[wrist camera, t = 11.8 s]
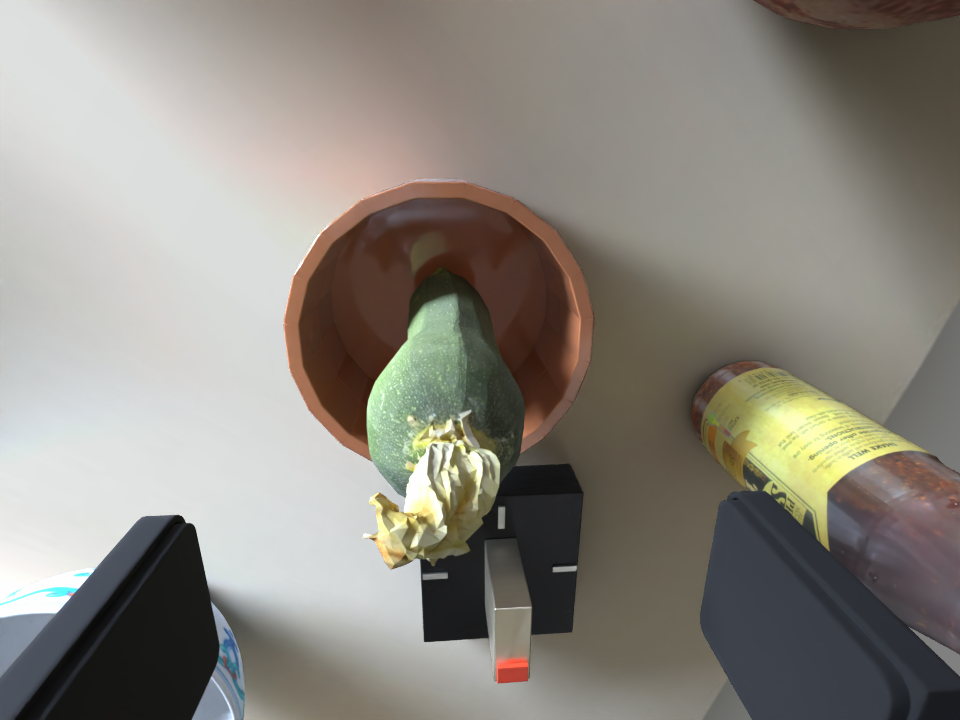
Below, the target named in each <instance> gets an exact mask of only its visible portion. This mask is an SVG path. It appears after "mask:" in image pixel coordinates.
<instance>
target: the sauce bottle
mask: <svg viewBox="0 0 960 720" xmlns="http://www.w3.org/2000/svg"><path fill="white" fill-rule="evenodd" d="M691 418H692V423H693V426H694V429H695V432H696V434H697V436H698V439H699V440H700V441H702V443H703V444H704V446H705V448H706V450H707V451H708V453H709V454H710V455H711V456H712V457H713V458H714V459H715V460H716V461H717V462H718V463H719V464H720V465H721V466H722V467H723V468H724V469H725V470H726V471H727V472H728V473H729V474H730V475H731V476H732V477H733V478H734V480H735V481H736V482H737V483H738V484H739V485H740V486H741V487H742V488H743V489H744V490H745V491H766V492H767V493H769V494H770V495H771V496H772V497H773V498H774V499H775V500H776V501H777V502H778V503H780V504H781V505H782V506H783V507H784V508H785V509H786V510H787V511H788V512H789V513H790V514H791V515H792V516H793V517H794V518H795V519H796V520H797V521H798V522H799V523H800V524H801V525H802V526H803V527H805V528H806V529H807V530H808V531H809V532H810V533H811V534H812V535H813V536H814V537H815V538H816V539H817V540H818V541H819V542H820V543H821V544H822V545H823V546H824V547H825V548H826V549H827V550H828V551H829V552H831V553H832V554H833V555H834V556H835V557H836V558H837V559H838V560H839V561H840V562H841V563H842V564H843V565H844V566H845V567H846V568H847V569H848V570H849V571H850V572H851V573H852V574H853V575H854V576H856V577H857V578H858V579H859V580H860V581H861V582H862V583H863V584H864V585H865V586H866V587H867V588H868V589H869V590H870V591H871V592H872V593H873V594H874V595H875V596H876V597H877V598H878V599H879V600H881V601H882V602H883V603H884V604H885V605H886V606H887V607H888V608H889V609H890V610H891V611H892V612H893V613H894V614H895V615H896V616H897V617H898V618H899V619H900V620H901V621H902V622H903V623H904V624H906V625H907V626H908V627H910V628H912V629H914V630H916V631H918V632H920V633H921V634H923V635H925V636H927V637H929V638H931V639H933V640H935V641H937V642H938V643H940V644H942V645H944V646H946V647H948V648H950V649H951V650H953V651H955V652H957V653H958V654H960V474H959V473H958V472H956V471H955V470H952V469H950V468H948V467H946V466H945V465H943V463H942V462H940V461H939V459H938V458H937V457H936V456H934V455H932V454H931V453H929V452H927V451H925V450H924V449H922V448H920V447H918V446H917V445H915V444H913V443H911V442H910V441H908V440H906V439H905V438H903V437H901V436H899V435H898V434H896V433H894V432H892V431H891V430H889V429H887V428H886V427H884V426H882V425H880V424H879V423H877V422H875V421H873V420H872V419H870V418H868V417H866V416H865V415H863V414H861V413H859V412H858V411H856V410H854V409H852V408H851V407H849V406H847V405H846V404H844V403H842V402H840V401H839V400H837V399H835V398H833V397H832V396H830V395H828V394H826V393H825V392H823V391H821V390H820V389H818V388H816V387H814V386H813V385H811V384H809V383H807V382H805V381H803V380H802V379H800V378H798V377H796V376H795V375H793V374H791V373H789V372H787V371H784V370H782V369H779V368H777V367H775V366H773V365H770V364H767V363H764V362H759V361H740V362H735V363H732V364H730V365H727V366H724V367H722V368H721V369H719V370H718V371H717V372H715V373H714V374H712V375H711V376H710V377H709V378H708V380H707V381H705V382H704V383H703V385H702V386H701V388H700V389H699V390H698V392H697V393H696V395H695V397H694V401H693V404H692V410H691Z"/></svg>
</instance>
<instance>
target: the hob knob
mask: <svg viewBox="0 0 960 720" xmlns="http://www.w3.org/2000/svg"><path fill="white" fill-rule="evenodd" d="M485 609H486V618H487V626H488V635H489V643H490V652H491V660H492V669H493V677H494V681H497V683H510V682H522V681H528V679H529V678H530V656H531V628H532V604H531V599H530V595H529V591H528V586H527V582H526V577H525V573H524V568H523V564H522V559H521V555H520V550H519V546H518V542H517V539H516V538H507V539H490V540H485Z"/></svg>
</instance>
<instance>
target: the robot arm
mask: <svg viewBox="0 0 960 720" xmlns="http://www.w3.org/2000/svg"><path fill="white" fill-rule="evenodd" d="M700 624H701V629H702V632H703V634H704V637H705V639H706V640H707V642H708V644H709V645H710V647H711V649H712V651H713V652H714V654H715V656H716V658H717V659H718V661H719V663H720V665H721V666H722V668H723V670H724V672H725V673H726V675H727V677H728V678H729V680H730V682H731V684H732V685H733V687H734V689H735V691H736V692H737V694H738V696H739V698H740V699H741V701H742V703H743V704H744V706H745V708H746V710H747V711H748V713H749V715H750V717H751V718H752V720H960V676H959V675H958V674H956V673H955V672H954V671H953V670H952V669H951V668H950V667H949V666H948V665H947V664H946V663H945V662H944V661H943V660H942V659H941V658H940V657H939V656H938V655H937V654H936V653H935V652H934V651H932V650H931V649H930V648H929V647H928V646H927V645H926V644H925V643H924V642H923V641H922V640H921V639H920V638H919V637H918V636H917V635H916V634H915V633H914V632H913V631H912V630H910V628H909V627H908V626H907V625H906V624H904V623H903V622H902V621H901V620H900V619H899V618H898V617H897V616H896V615H895V614H894V613H893V612H892V611H891V610H890V609H889V608H888V607H887V606H886V605H885V604H884V603H883V602H882V601H881V600H879V599H878V598H877V597H876V596H875V595H874V594H873V593H872V592H871V591H870V590H869V589H868V588H867V587H866V586H865V585H864V584H863V583H862V582H861V581H860V580H859V579H858V578H857V577H856V576H854V575H853V574H852V573H851V572H850V571H849V570H848V569H847V568H846V567H845V566H844V565H843V564H842V563H841V562H840V561H839V560H838V559H837V558H836V557H835V556H834V555H833V554H832V553H831V552H829V551H828V550H827V549H826V548H825V547H824V546H823V545H822V544H821V543H820V542H819V541H818V540H817V539H816V538H815V537H814V536H813V535H812V534H811V533H810V532H809V531H808V530H807V529H806V528H805V527H803V526H802V525H801V524H800V523H799V522H798V521H797V520H796V519H795V518H794V517H793V516H792V515H791V514H790V513H789V512H788V511H787V510H786V509H785V508H784V507H783V506H782V505H781V504H780V503H778V502H777V501H776V500H775V499H774V498H773V497H772V496H771V495H770V494H769V493H767V492H766V491H742V492H732V493H730V494H729V496H728V498H727V500H724V501H722V502H721V503H720V505H719V508H718V514H717V519H716V525H715V531H714V537H713V542H712V548H711V554H710V559H709V565H708V571H707V577H706V582H705V588H704V594H703V599H702V605H701V611H700ZM219 651H220V644H219V638H218V633H217V628H216V624H215V619H214V614H213V609H212V604H211V600H210V595H209V590H208V585H207V581H206V576H205V571H204V566H203V562H202V557H201V552H200V547H199V543H198V538H197V533H196V529H195V527H194V525H193V524H191V523H186V522H185V520H184V518H183V517H182V516H180V515H166V516H146V517H142V518H141V519H139V520H138V521H137V522H136V523H135V524H134V526H133V527H132V528H131V529H130V530H129V531H128V532H127V534H126V535H125V536H124V537H123V538H122V539H121V540H120V542H119V543H118V544H117V545H116V546H115V547H114V548H113V550H112V551H111V552H110V553H109V554H108V555H107V556H106V557H105V559H104V560H103V561H102V562H101V563H100V564H99V565H98V567H97V568H96V569H95V570H94V571H93V572H92V573H91V575H90V576H89V577H88V578H87V579H86V580H85V581H84V583H83V584H82V585H81V586H80V587H79V588H78V589H77V591H76V592H75V593H74V594H73V595H72V596H71V597H70V599H69V600H68V601H67V602H66V603H65V604H64V605H63V606H62V608H61V609H60V610H59V611H58V612H57V613H56V614H55V616H54V617H53V618H52V619H51V620H50V621H49V622H48V624H47V625H46V626H45V627H44V628H43V629H42V630H41V632H40V633H39V634H38V635H37V636H36V637H35V638H34V640H33V641H32V642H31V643H30V644H29V645H28V646H27V648H26V649H25V650H24V651H23V652H22V653H21V654H20V655H19V657H18V658H17V659H16V660H15V661H14V662H13V663H12V665H11V666H10V667H9V668H8V669H7V670H6V671H5V673H4V674H3V675H2V676H1V677H0V720H192V718H193V716H194V714H195V711H196V709H197V707H198V705H199V703H200V700H201V698H202V696H203V694H204V692H205V690H206V687H207V685H208V683H209V681H210V679H211V676H212V674H213V672H214V670H215V667H216V665H217V662H218V658H219Z"/></svg>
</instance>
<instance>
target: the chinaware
mask: <svg viewBox="0 0 960 720" xmlns="http://www.w3.org/2000/svg"><path fill="white" fill-rule="evenodd" d="M95 569H96V568H89V569H83V570H78V571H73V572H69V573H65V574H61V575H57V576H54V577H51V578H48V579H45V580H42V581H40V582H37V583H34V584H32V585H29V586H27V587H25V588H22V589H20V590H18V591H16V592H14V593H12V594H10V595H8V596H6V597H4V598H2V599H0V677H1V676H2V675H3V674H4V673H5V671H6V670H7V669H8V668H9V667H10V666H11V665H12V663H13V662H14V661H15V660H16V659H17V658H18V657H19V655H20V654H21V653H22V652H23V651H24V650H25V649H26V648H27V646H28V645H29V644H30V643H31V642H32V641H33V640H34V638H35V637H36V636H37V635H38V634H39V633H40V632H41V630H42V629H43V628H44V627H45V626H46V625H47V624H48V622H49V621H50V620H51V619H52V618H53V617H54V616H55V614H56V613H57V612H58V611H59V610H60V609H61V608H62V606H63V605H64V604H65V603H66V602H67V601H68V600H69V599H70V597H71V596H72V595H73V594H74V593H75V592H76V591H77V589H78V588H79V587H80V586H81V585H82V584H83V583H84V581H85V580H86V579H87V578H88V577H89V576H90V575H91V573H92V572H93V571H94V570H95ZM211 604H212V609H213V614H214V619H215V624H216V628H217V633H218V638H219V644H220V651H219V658H218V662H217V665H216V667H215V670H214V672H213V674H212V676H211V679H210V681H209V683H208V685H207V687H206V690H205V692H204V694H203V696H202V698H201V700H200V703H199V705H198V707H197V709H196V711H195V714H194V716H193V718H192V720H243V719H244V706H245V683H244V672H243V665H242V660H241V655H240V651H239V648H238V645H237V642H236V639H235V637H234V635H233V632H232V630H231V628H230V626H229V625H228V623H227V621H226V620H225V618H224V617H223V615H222V614H221V612H220V611H219V610H218V609H217V607H216V606H215V605H214V604H213V603H212V602H211Z"/></svg>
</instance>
